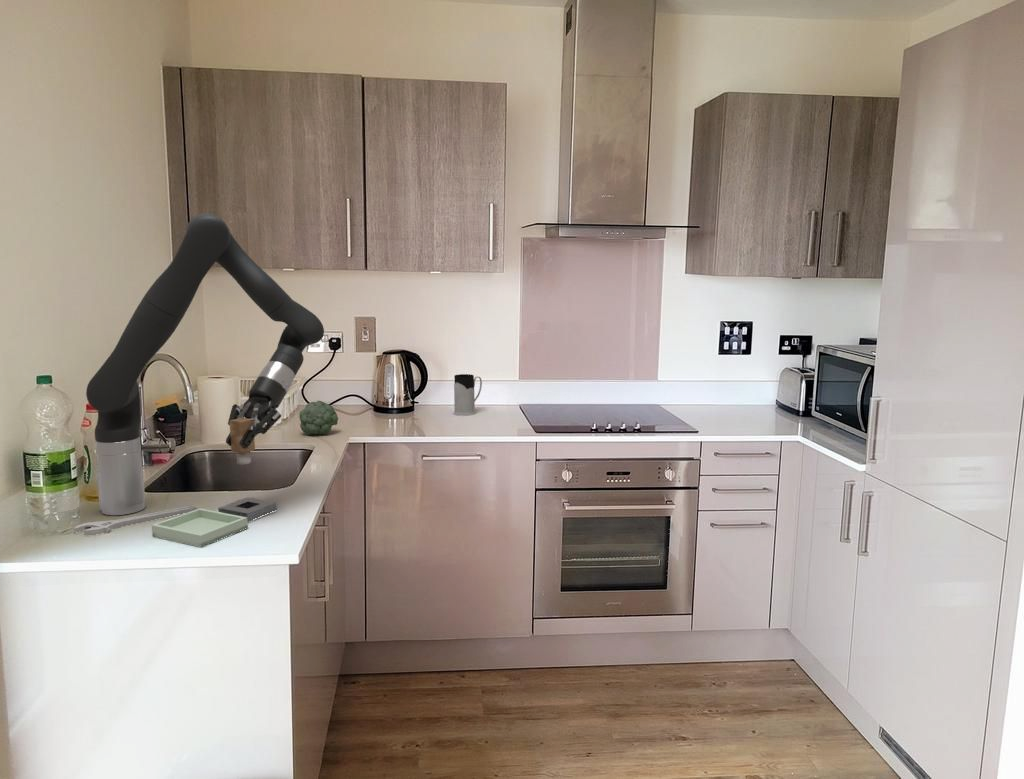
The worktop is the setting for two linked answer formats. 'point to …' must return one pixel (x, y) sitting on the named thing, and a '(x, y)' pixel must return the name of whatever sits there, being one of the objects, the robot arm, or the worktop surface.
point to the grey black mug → (465, 394)
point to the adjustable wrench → (129, 521)
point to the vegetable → (317, 418)
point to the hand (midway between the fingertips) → (236, 445)
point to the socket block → (249, 508)
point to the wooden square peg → (236, 434)
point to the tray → (199, 527)
